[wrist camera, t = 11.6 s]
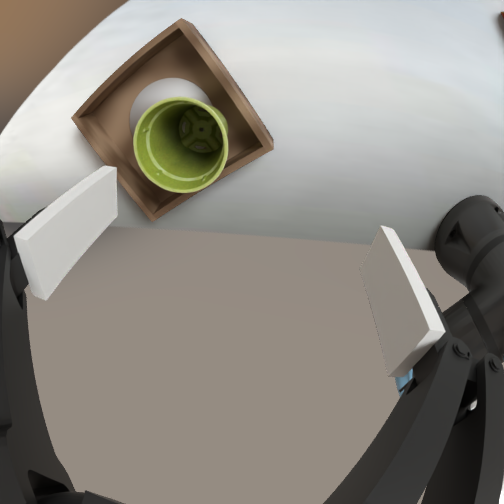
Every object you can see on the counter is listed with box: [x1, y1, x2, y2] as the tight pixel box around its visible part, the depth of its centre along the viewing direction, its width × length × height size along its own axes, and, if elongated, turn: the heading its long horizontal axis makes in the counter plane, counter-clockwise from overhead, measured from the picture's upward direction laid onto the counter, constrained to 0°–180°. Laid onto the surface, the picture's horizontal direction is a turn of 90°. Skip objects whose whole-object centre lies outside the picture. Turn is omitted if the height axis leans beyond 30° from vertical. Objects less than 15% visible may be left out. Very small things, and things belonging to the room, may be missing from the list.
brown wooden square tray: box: [71, 18, 274, 222], centre depth 30 cm, size 18×18×4 cm
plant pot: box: [133, 97, 228, 193], centre depth 28 cm, size 9×9×9 cm
